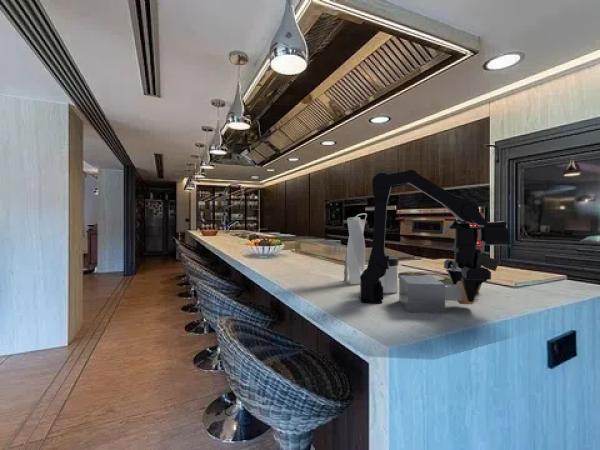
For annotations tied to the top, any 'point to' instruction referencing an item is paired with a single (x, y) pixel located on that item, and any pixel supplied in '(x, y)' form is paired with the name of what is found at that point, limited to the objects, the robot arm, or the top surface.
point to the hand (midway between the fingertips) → (464, 298)
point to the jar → (390, 276)
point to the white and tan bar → (456, 293)
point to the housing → (422, 294)
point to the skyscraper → (355, 251)
